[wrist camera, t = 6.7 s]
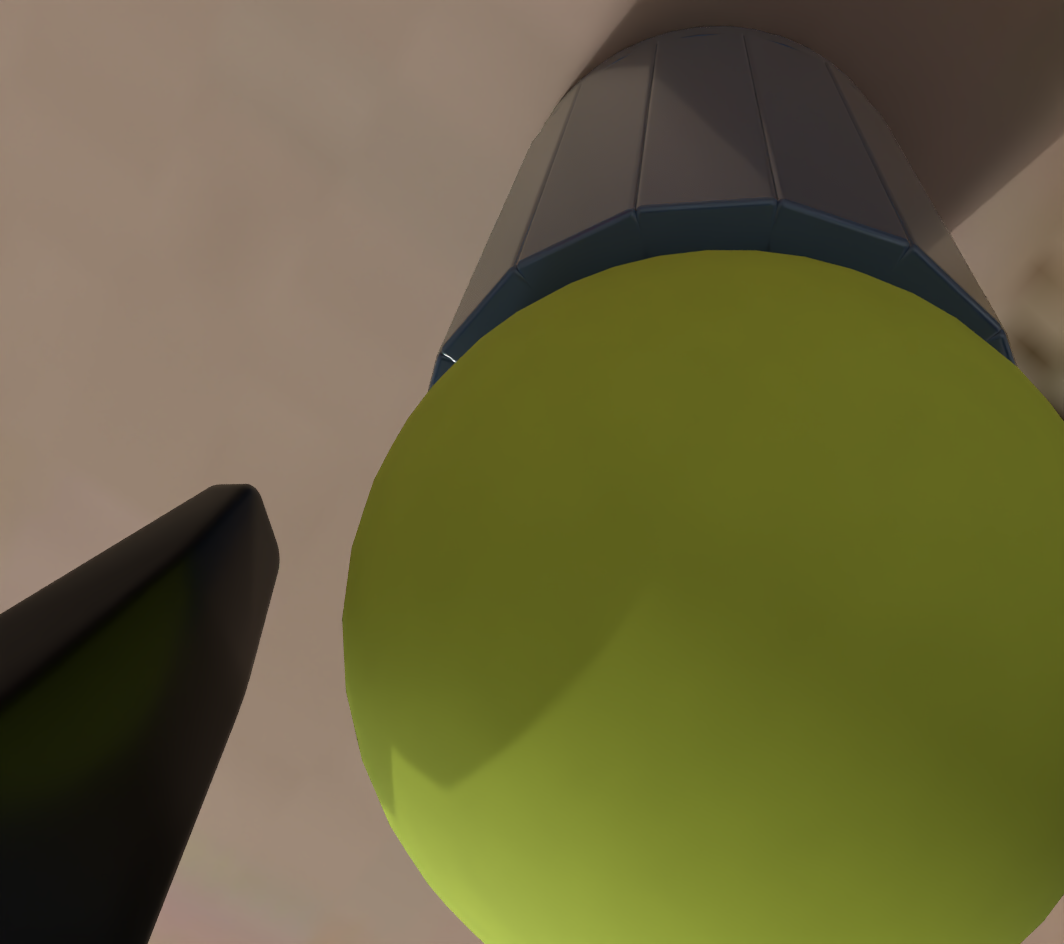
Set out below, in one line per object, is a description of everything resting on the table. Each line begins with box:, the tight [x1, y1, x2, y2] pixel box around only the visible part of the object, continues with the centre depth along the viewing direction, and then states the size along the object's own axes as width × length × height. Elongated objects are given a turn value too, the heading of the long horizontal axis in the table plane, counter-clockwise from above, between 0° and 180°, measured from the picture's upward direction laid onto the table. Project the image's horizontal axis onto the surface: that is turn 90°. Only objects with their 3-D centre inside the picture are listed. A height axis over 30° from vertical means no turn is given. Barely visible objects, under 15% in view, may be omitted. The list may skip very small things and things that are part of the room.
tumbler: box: [428, 26, 1017, 391], centre depth 12 cm, size 6×6×7 cm
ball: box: [342, 250, 1064, 944], centre depth 8 cm, size 6×6×6 cm
